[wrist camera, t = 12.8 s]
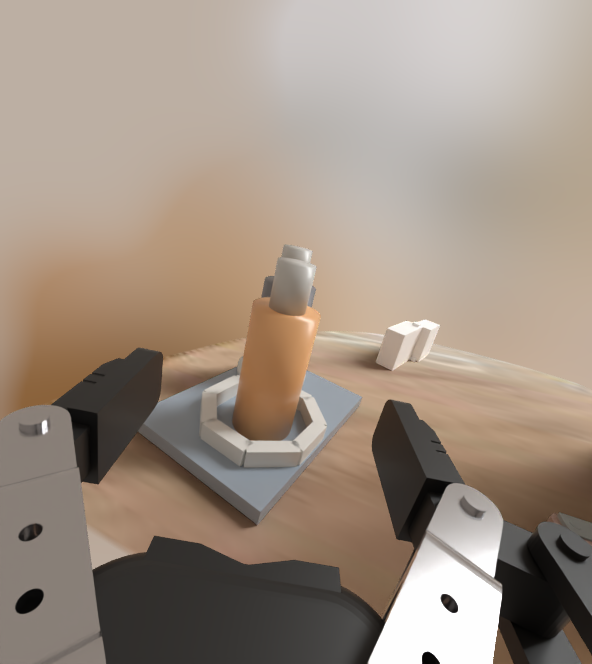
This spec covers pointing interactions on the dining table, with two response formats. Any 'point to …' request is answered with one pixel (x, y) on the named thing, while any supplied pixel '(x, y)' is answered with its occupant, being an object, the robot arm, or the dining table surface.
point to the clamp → (573, 525)
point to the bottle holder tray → (234, 449)
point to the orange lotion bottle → (276, 354)
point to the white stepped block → (406, 343)
